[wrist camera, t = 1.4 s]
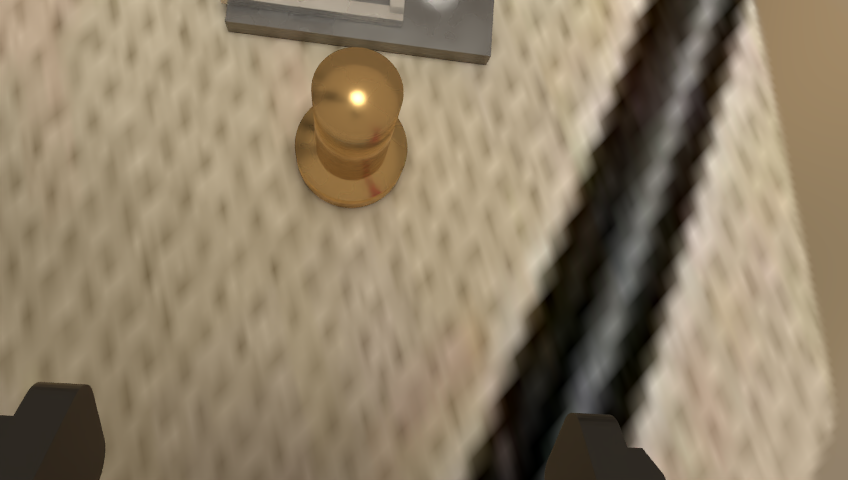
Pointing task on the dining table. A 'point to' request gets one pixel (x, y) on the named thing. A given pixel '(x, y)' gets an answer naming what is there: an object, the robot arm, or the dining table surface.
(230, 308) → the dining table surface
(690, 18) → the dining table surface
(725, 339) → the dining table surface
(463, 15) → the carrier
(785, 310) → the dining table surface
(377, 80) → the brass knob
